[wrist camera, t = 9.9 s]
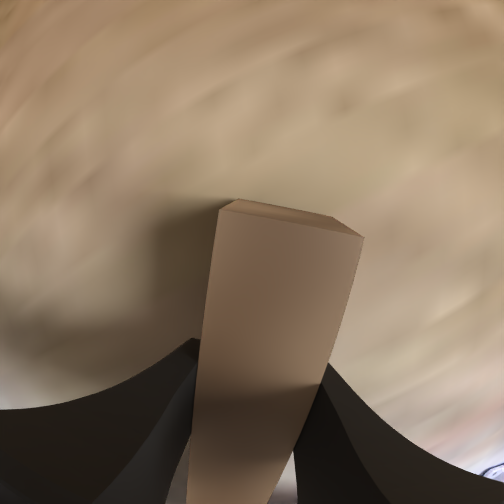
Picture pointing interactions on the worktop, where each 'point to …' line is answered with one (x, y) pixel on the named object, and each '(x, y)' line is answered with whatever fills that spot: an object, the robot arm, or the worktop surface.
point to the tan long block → (264, 344)
